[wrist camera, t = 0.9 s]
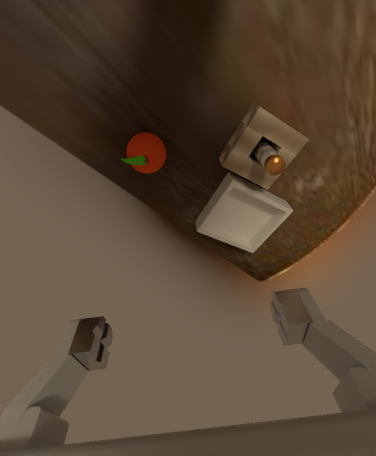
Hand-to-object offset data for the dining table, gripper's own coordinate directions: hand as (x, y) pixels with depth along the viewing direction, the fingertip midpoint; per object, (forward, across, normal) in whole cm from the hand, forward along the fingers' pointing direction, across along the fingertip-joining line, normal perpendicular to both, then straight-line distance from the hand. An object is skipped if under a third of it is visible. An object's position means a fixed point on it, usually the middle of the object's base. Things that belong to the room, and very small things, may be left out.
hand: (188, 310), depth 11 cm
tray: (+38, -11, +22) cm, 45 cm away
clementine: (+38, +6, +4) cm, 38 cm away
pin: (+37, -15, +7) cm, 41 cm away
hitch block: (+37, -15, +7) cm, 41 cm away
